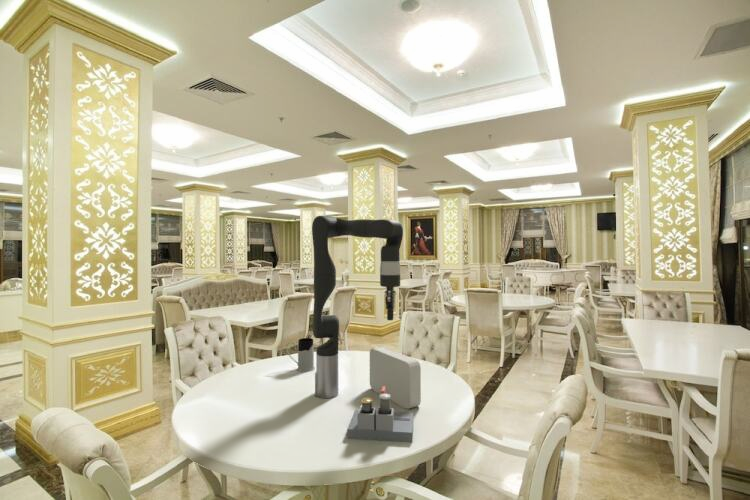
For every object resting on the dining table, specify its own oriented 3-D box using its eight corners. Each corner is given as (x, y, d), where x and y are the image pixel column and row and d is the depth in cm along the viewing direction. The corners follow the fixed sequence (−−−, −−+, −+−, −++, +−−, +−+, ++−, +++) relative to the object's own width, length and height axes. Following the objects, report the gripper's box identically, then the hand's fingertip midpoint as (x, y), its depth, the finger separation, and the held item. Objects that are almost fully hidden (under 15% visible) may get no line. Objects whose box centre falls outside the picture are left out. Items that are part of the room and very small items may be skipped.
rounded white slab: (425, 406, 148) (425, 360, 148) (410, 411, 144) (410, 363, 144) (383, 384, 172) (383, 345, 172) (369, 388, 167) (369, 347, 167)
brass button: (360, 417, 123) (360, 401, 123) (362, 412, 127) (362, 397, 127) (371, 418, 123) (371, 402, 123) (373, 413, 127) (373, 398, 127)
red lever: (378, 420, 128) (378, 390, 128) (379, 414, 133) (379, 386, 133) (387, 420, 128) (387, 391, 128) (388, 415, 132) (388, 386, 132)
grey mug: (313, 371, 190) (312, 341, 190) (284, 371, 190) (284, 341, 190) (315, 366, 199) (315, 337, 199) (288, 366, 199) (288, 337, 199)
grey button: (379, 413, 123) (379, 397, 123) (380, 408, 126) (380, 393, 126) (390, 413, 122) (390, 398, 122) (390, 409, 126) (390, 393, 126)
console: (347, 438, 123) (347, 413, 123) (355, 417, 138) (355, 395, 138) (412, 442, 120) (412, 416, 120) (413, 420, 135) (413, 398, 135)
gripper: (399, 274, 134) (399, 323, 134) (401, 272, 147) (401, 317, 147) (378, 274, 135) (378, 323, 135) (381, 272, 148) (382, 316, 148)
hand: (390, 319), depth 141 cm, fingers closed
